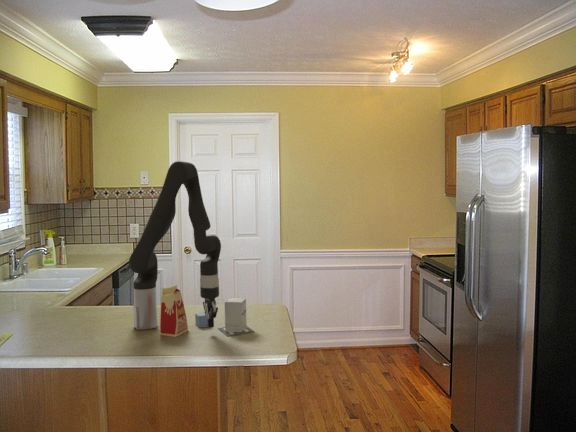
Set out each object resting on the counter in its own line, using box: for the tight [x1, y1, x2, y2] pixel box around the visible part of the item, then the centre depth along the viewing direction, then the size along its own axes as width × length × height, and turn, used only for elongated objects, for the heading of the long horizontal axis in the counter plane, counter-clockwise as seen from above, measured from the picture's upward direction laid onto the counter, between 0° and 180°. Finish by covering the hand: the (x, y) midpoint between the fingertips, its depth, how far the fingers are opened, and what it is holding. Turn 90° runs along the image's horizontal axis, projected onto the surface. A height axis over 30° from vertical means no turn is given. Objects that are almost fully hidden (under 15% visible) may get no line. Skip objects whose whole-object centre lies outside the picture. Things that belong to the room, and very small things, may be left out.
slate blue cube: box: [194, 311, 208, 328], centre depth 225 cm, size 5×5×5 cm
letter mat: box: [217, 325, 256, 337], centre depth 217 cm, size 12×12×1 cm
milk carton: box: [159, 285, 189, 338], centre depth 214 cm, size 9×9×20 cm
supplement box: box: [224, 297, 247, 332], centre depth 216 cm, size 7×7×13 cm
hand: (210, 327), depth 212 cm, fingers closed
